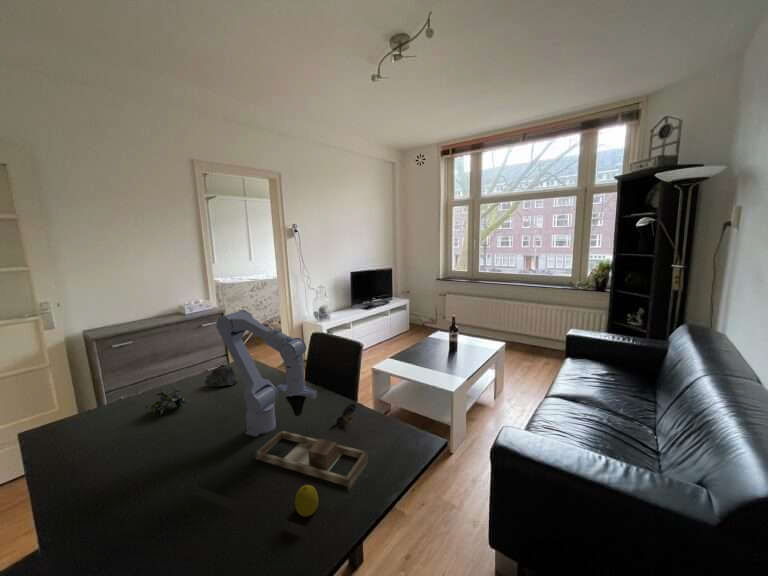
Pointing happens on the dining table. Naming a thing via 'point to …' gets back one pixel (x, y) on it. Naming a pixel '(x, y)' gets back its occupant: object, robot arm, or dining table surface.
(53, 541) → the dining table surface
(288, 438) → the frame
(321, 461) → the walnut block
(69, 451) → the dining table surface
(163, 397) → the passion flower
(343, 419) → the eagle figurine
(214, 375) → the mineral rock
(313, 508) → the lemon
